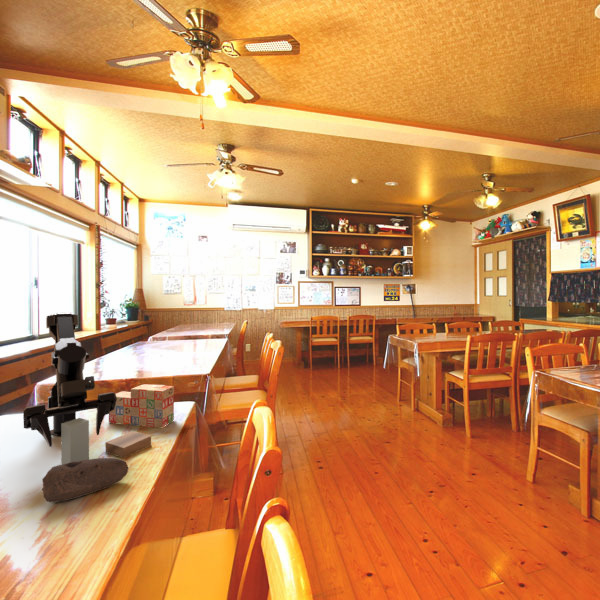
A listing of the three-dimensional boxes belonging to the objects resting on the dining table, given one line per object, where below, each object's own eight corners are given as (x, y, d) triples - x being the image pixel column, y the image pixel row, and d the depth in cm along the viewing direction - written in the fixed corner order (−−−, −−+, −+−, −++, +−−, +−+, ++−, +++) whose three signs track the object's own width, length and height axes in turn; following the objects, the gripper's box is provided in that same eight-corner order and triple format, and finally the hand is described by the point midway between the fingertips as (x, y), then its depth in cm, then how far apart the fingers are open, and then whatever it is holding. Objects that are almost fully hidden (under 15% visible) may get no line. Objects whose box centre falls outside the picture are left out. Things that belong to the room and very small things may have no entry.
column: (61, 474, 73) (61, 423, 73) (79, 465, 76) (79, 417, 76) (70, 478, 71) (70, 426, 71) (89, 469, 74) (88, 420, 75)
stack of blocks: (107, 423, 104) (107, 387, 104) (122, 416, 110) (122, 382, 110) (162, 428, 99) (162, 390, 99) (174, 421, 105) (174, 385, 105)
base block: (105, 453, 83) (105, 442, 84) (133, 441, 91) (132, 431, 91) (123, 459, 80) (123, 448, 80) (151, 446, 87) (150, 435, 87)
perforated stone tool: (128, 475, 72) (127, 445, 72) (129, 487, 67) (128, 455, 67) (46, 497, 64) (45, 464, 64) (40, 512, 59) (40, 476, 59)
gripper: (23, 373, 72) (22, 434, 63) (114, 362, 84) (124, 412, 75) (24, 399, 77) (23, 459, 69) (109, 385, 90) (117, 434, 81)
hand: (75, 439), depth 73 cm, fingers open, 9 cm apart
